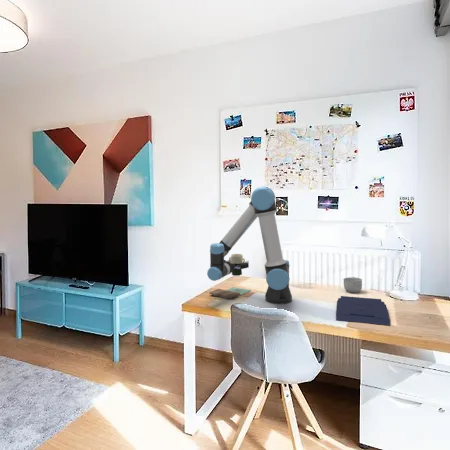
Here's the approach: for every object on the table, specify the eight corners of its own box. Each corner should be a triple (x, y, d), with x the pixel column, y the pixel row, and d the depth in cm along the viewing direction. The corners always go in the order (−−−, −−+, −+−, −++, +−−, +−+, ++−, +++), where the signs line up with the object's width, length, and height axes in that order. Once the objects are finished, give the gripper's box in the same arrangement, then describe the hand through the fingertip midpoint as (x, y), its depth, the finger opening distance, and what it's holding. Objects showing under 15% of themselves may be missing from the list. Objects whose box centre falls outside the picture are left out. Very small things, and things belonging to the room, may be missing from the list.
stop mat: (251, 290, 227) (251, 289, 226) (240, 295, 217) (240, 294, 217) (233, 287, 234) (233, 286, 234) (222, 292, 224) (222, 291, 224)
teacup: (359, 295, 216) (359, 281, 215) (340, 292, 222) (341, 279, 222) (364, 289, 228) (365, 277, 227) (347, 287, 234) (347, 275, 233)
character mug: (247, 275, 225) (247, 254, 224) (242, 277, 219) (242, 256, 217) (231, 273, 230) (231, 253, 229) (226, 275, 224) (226, 254, 223)
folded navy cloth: (384, 304, 195) (384, 297, 194) (390, 331, 167) (391, 323, 166) (337, 300, 203) (337, 294, 202) (335, 325, 175) (335, 318, 174)
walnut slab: (240, 296, 215) (240, 292, 215) (231, 300, 208) (231, 296, 208) (218, 292, 224) (218, 288, 224) (209, 295, 217) (209, 292, 217)
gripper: (206, 273, 212) (222, 266, 232) (243, 277, 203) (257, 269, 223) (206, 260, 212) (222, 254, 232) (243, 264, 202) (257, 257, 222)
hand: (239, 261), depth 227 cm, fingers closed on character mug, 11 cm apart
